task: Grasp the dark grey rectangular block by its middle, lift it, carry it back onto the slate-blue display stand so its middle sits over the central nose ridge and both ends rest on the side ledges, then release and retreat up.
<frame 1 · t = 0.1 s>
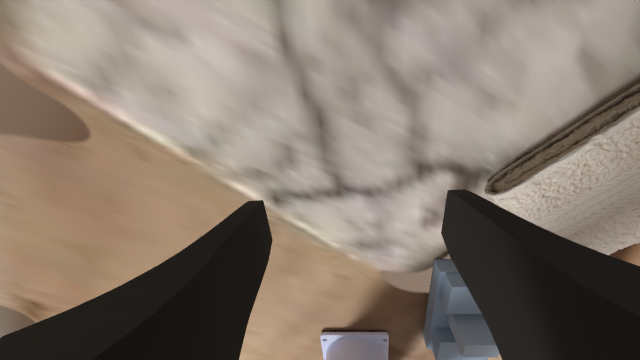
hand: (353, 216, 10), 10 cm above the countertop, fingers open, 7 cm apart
washcloth: (623, 158, 19), on the countertop
display stand: (457, 300, 27), on the countertop
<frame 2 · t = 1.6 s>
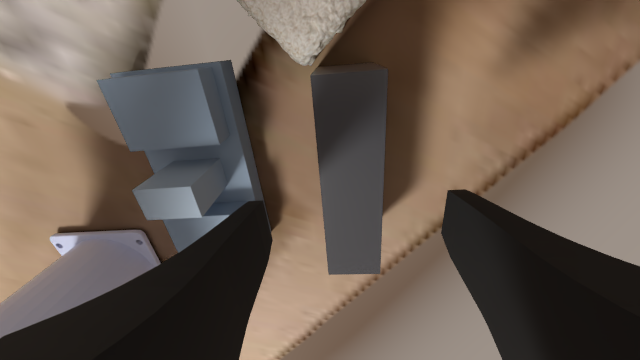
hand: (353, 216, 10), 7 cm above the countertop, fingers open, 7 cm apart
display stand: (211, 163, 17), on the countertop
dark grey rectangular block: (348, 157, 16), on the countertop
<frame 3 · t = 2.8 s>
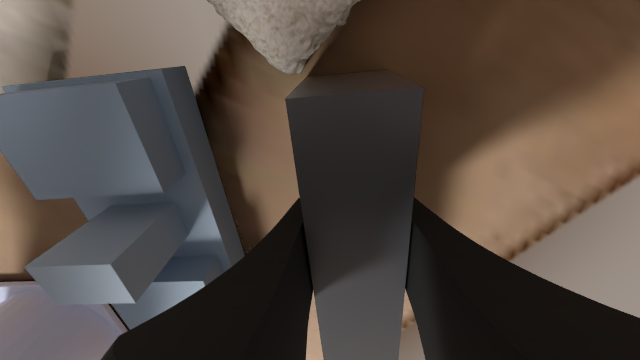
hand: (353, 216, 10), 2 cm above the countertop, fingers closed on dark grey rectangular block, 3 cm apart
display stand: (169, 202, 13), on the countertop
dark grey rectangular block: (351, 198, 12), on the countertop, touching gripper
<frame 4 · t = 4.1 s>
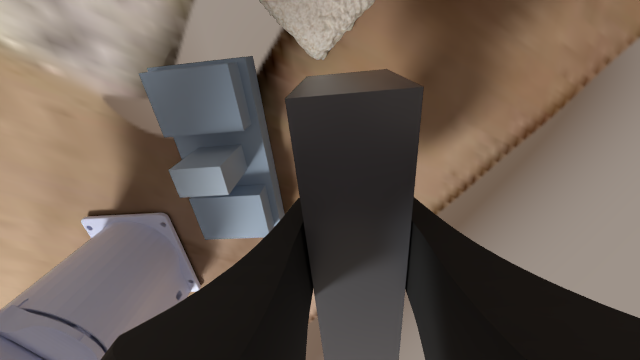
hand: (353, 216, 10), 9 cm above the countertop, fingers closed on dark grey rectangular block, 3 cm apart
display stand: (231, 150, 19), on the countertop
dark grey rectangular block: (351, 197, 12), point 7 cm above the countertop, touching gripper
when the fingers open (6 cm above the countertop, at t = 5.6 s): dark grey rectangular block stays where it is, resting on display stand.
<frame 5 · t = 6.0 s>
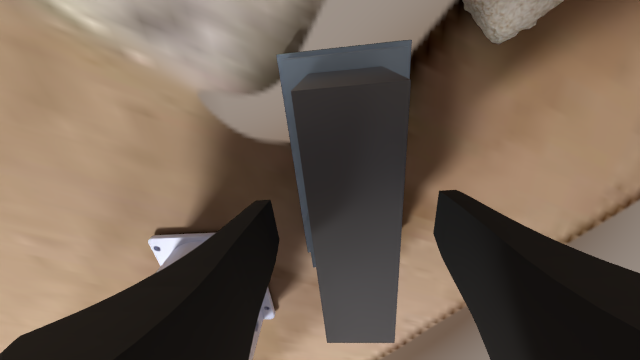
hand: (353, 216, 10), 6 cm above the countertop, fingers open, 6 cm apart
display stand: (347, 158, 15), on the countertop
dark grey rectangular block: (350, 187, 13), point 3 cm above the countertop, touching display stand
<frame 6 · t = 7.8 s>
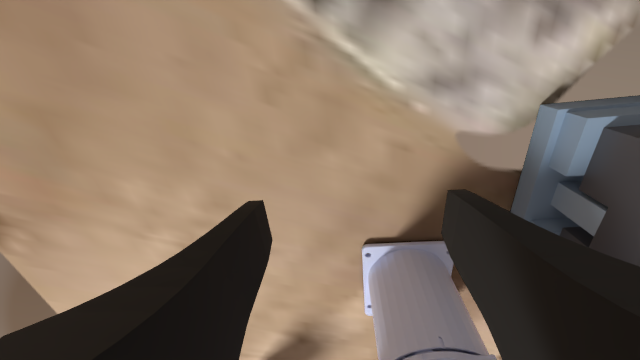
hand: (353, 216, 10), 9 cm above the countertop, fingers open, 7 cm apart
display stand: (560, 182, 19), on the countertop
dark grey rectangular block: (595, 207, 17), point 3 cm above the countertop, touching display stand
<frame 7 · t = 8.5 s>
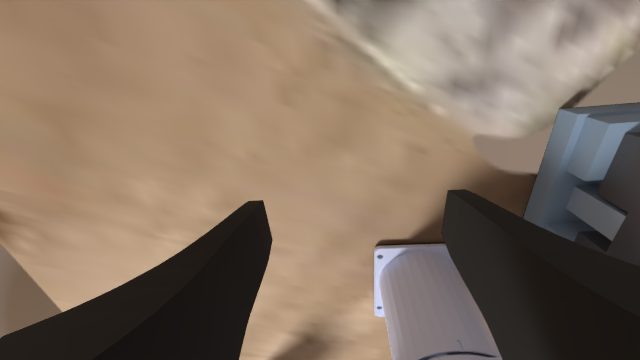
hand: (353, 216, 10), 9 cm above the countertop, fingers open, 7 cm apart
display stand: (575, 186, 19), on the countertop
dark grey rectangular block: (612, 212, 17), point 3 cm above the countertop, touching display stand
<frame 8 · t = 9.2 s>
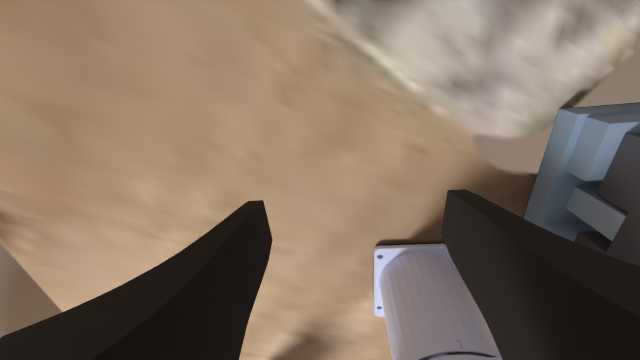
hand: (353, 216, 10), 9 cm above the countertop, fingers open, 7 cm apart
display stand: (575, 186, 19), on the countertop
dark grey rectangular block: (612, 212, 17), point 3 cm above the countertop, touching display stand
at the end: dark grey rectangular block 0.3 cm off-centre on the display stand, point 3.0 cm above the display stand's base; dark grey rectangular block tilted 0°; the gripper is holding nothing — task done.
